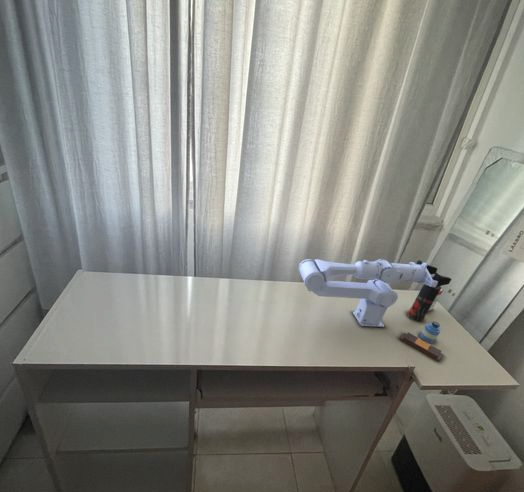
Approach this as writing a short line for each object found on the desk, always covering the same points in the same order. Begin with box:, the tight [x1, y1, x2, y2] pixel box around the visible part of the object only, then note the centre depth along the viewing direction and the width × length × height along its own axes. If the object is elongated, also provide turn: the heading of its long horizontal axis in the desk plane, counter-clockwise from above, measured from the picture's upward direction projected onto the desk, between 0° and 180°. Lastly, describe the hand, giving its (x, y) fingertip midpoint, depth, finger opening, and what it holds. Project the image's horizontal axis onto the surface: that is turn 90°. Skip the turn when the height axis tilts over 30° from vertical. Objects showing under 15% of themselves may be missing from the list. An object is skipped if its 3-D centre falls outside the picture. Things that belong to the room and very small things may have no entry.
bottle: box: [419, 321, 442, 344], centre depth 114 cm, size 5×5×7 cm
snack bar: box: [399, 332, 444, 362], centre depth 109 cm, size 14×4×2 cm, turn 49°
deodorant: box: [407, 284, 442, 322], centre depth 122 cm, size 6×6×15 cm
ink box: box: [428, 288, 444, 312], centre depth 129 cm, size 4×8×15 cm, turn 125°
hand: (442, 275), depth 111 cm, fingers open, 7 cm apart
